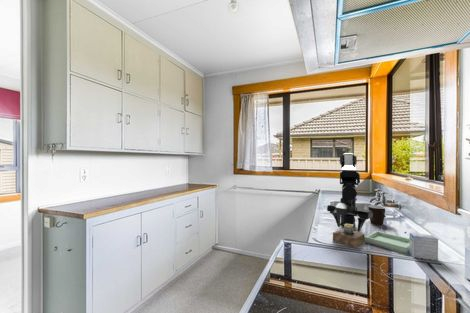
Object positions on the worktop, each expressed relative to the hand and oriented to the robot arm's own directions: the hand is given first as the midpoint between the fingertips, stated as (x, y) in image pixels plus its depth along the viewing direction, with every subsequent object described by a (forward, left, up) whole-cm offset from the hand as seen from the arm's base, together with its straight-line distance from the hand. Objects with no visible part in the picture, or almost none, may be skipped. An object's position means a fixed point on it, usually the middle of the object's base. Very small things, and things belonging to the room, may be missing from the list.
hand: (348, 229), depth 106 cm
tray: (+13, +12, -6) cm, 19 cm away
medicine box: (+26, +7, -6) cm, 28 cm away
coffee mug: (-2, +40, -6) cm, 40 cm away
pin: (0, 0, -6) cm, 6 cm away
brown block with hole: (0, 0, -6) cm, 6 cm away
